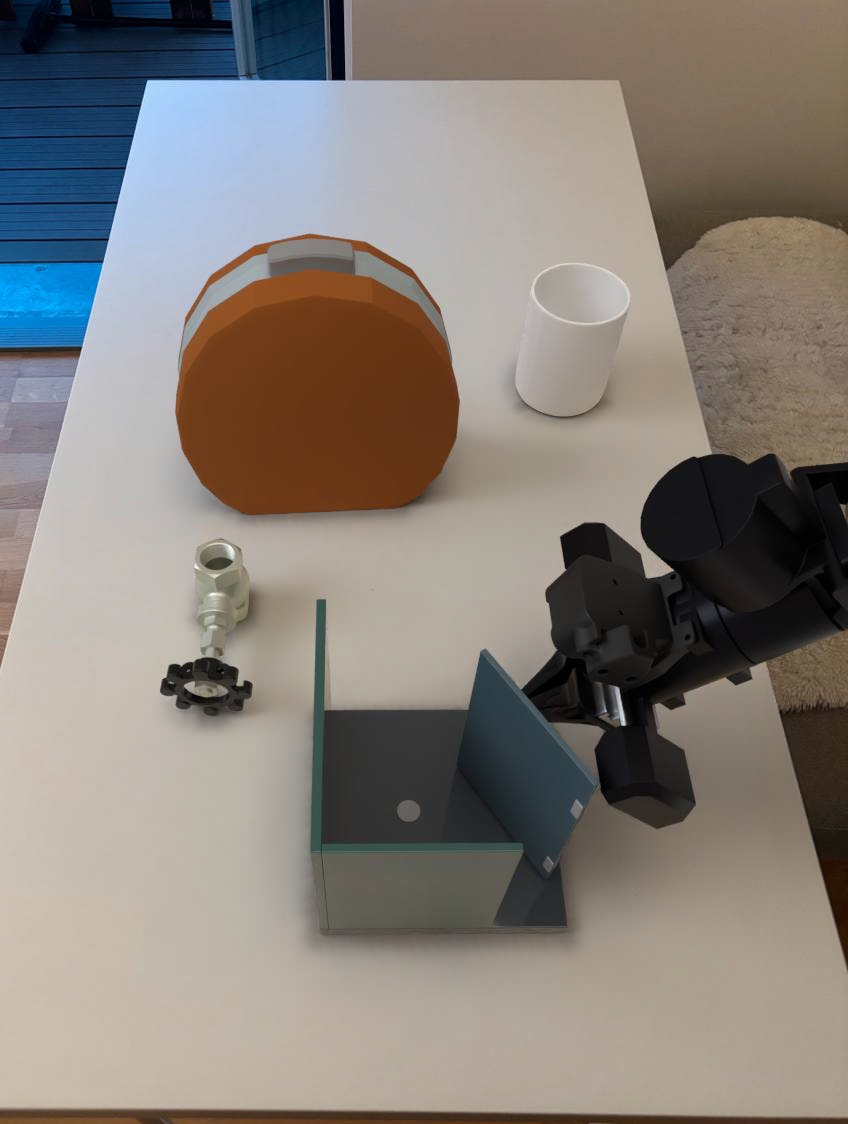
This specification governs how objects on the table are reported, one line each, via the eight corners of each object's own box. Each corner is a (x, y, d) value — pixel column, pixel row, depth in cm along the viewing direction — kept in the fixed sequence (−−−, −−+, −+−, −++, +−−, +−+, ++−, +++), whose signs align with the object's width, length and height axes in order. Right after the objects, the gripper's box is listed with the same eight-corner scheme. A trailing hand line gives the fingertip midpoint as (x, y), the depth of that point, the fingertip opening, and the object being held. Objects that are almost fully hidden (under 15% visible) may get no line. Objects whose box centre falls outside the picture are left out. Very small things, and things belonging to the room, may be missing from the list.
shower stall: (537, 716, 68) (578, 598, 56) (564, 932, 60) (620, 851, 47) (323, 717, 68) (316, 598, 56) (319, 934, 60) (309, 852, 47)
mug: (582, 333, 92) (607, 236, 84) (613, 416, 86) (642, 321, 77) (499, 339, 92) (514, 242, 83) (523, 423, 85) (543, 327, 76)
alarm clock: (437, 425, 85) (460, 193, 66) (449, 505, 80) (479, 278, 61) (198, 435, 84) (152, 202, 65) (195, 517, 79) (143, 290, 60)
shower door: (476, 752, 65) (504, 637, 52) (565, 866, 61) (620, 769, 48) (454, 765, 64) (478, 651, 52) (543, 881, 60) (593, 787, 47)
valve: (190, 585, 75) (167, 714, 68) (177, 533, 69) (150, 668, 63) (271, 588, 75) (255, 717, 68) (264, 536, 69) (246, 672, 63)
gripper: (630, 420, 51) (421, 547, 60) (701, 718, 41) (435, 815, 50) (724, 513, 57) (523, 614, 67) (805, 789, 47) (554, 863, 56)
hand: (509, 713), depth 60 cm, fingers closed
